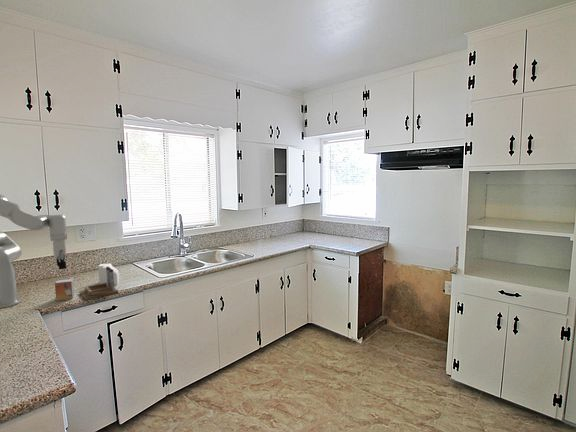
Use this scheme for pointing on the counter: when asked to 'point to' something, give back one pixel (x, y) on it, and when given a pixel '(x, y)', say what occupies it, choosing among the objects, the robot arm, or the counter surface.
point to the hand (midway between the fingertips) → (61, 267)
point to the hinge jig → (100, 288)
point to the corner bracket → (104, 274)
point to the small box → (64, 289)
